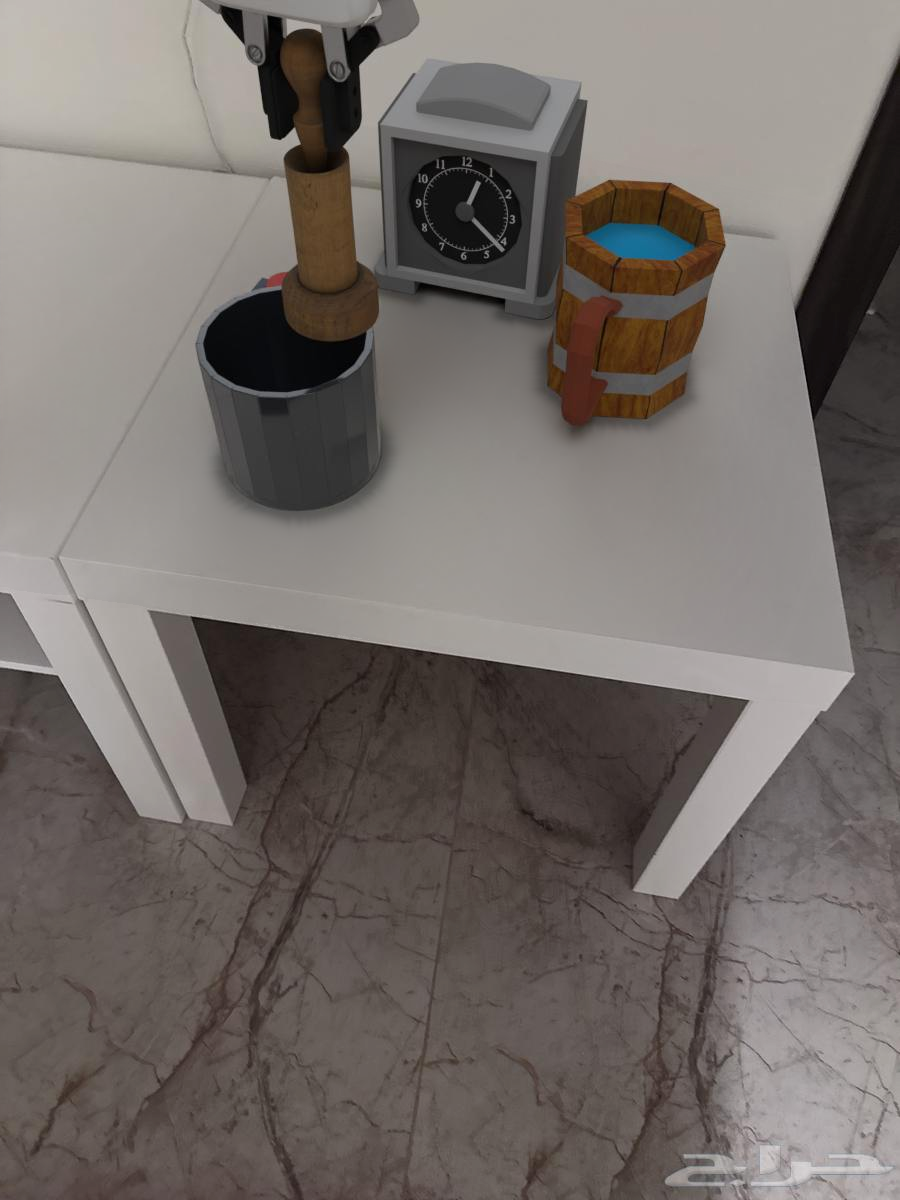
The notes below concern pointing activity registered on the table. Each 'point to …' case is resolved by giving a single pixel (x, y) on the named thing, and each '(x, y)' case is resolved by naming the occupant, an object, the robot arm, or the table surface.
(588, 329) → the mug
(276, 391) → the grey open cylinder
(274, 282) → the button
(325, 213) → the mortar and pestle
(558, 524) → the table surface
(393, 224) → the alarm clock
